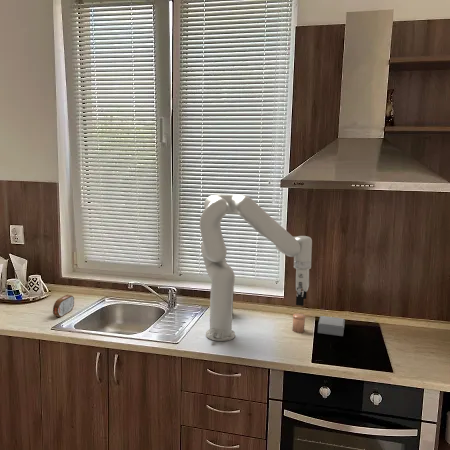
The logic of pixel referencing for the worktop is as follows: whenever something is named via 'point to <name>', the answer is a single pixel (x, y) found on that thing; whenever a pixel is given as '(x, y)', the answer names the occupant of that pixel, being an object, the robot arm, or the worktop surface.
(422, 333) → the worktop surface
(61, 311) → the tin
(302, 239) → the robot arm
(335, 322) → the pedestal
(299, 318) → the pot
